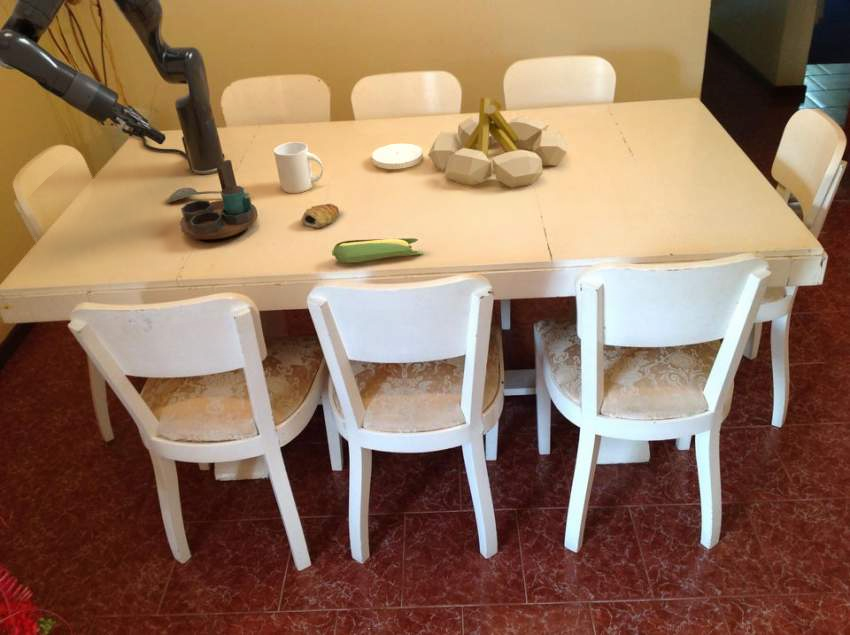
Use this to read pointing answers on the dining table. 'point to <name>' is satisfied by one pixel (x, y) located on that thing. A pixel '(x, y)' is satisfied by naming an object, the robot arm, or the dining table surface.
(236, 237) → the carousel base
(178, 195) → the soupspoon
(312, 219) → the pastry
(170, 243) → the dining table surface
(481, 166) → the campfire
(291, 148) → the mug
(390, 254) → the edible corn
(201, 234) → the cup holder
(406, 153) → the plastic lid
